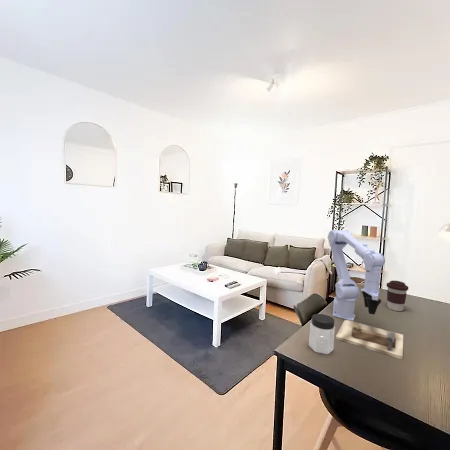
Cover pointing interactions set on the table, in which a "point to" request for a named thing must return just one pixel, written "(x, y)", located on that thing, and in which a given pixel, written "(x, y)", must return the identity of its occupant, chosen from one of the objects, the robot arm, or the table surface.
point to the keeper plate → (346, 336)
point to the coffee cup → (396, 295)
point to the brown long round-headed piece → (372, 336)
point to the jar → (322, 333)
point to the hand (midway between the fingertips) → (369, 310)
